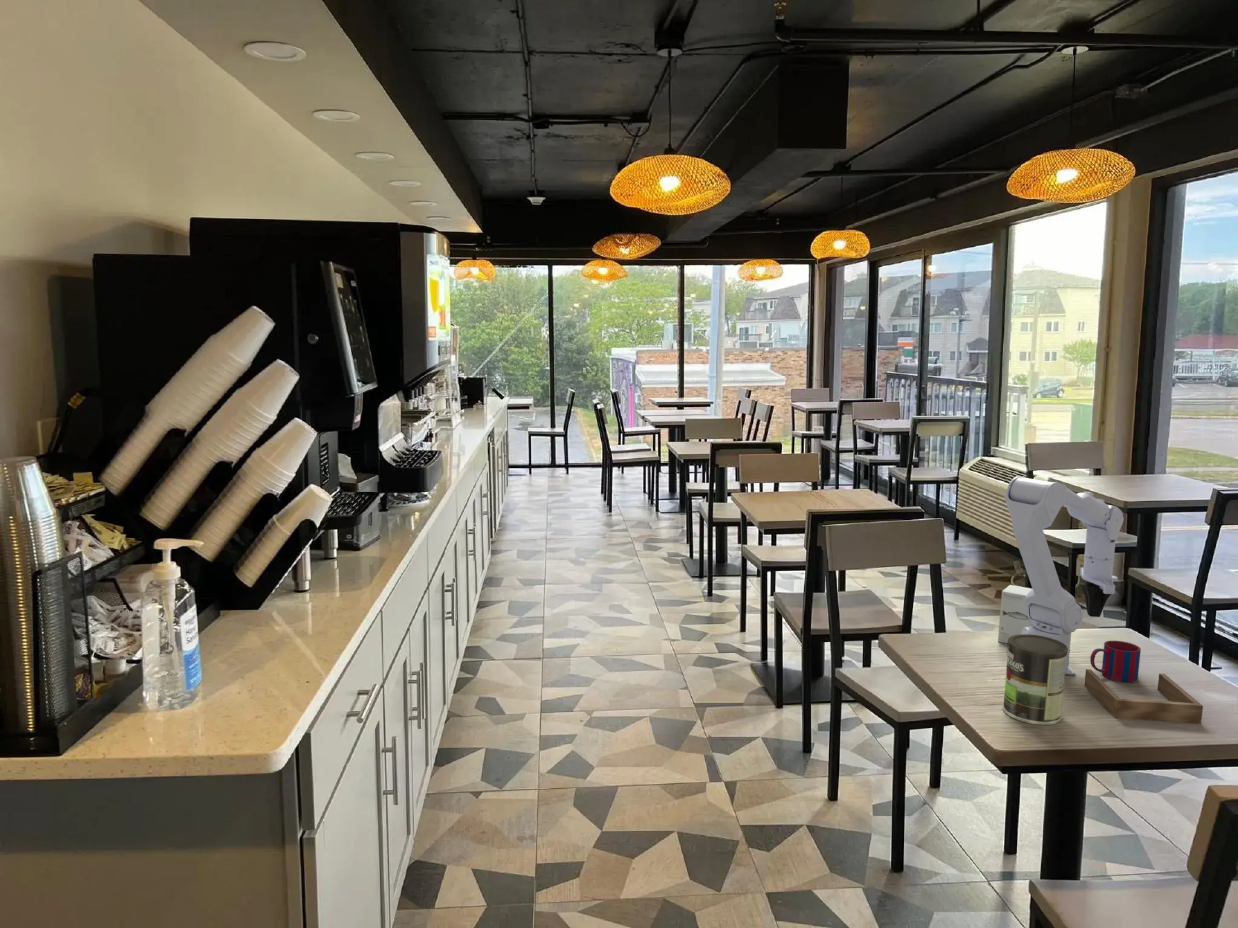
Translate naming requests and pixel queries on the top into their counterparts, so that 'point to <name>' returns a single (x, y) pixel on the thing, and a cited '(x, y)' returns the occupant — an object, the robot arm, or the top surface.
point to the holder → (1148, 702)
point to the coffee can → (1035, 679)
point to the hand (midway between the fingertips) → (1093, 615)
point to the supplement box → (1013, 612)
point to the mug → (1119, 661)
